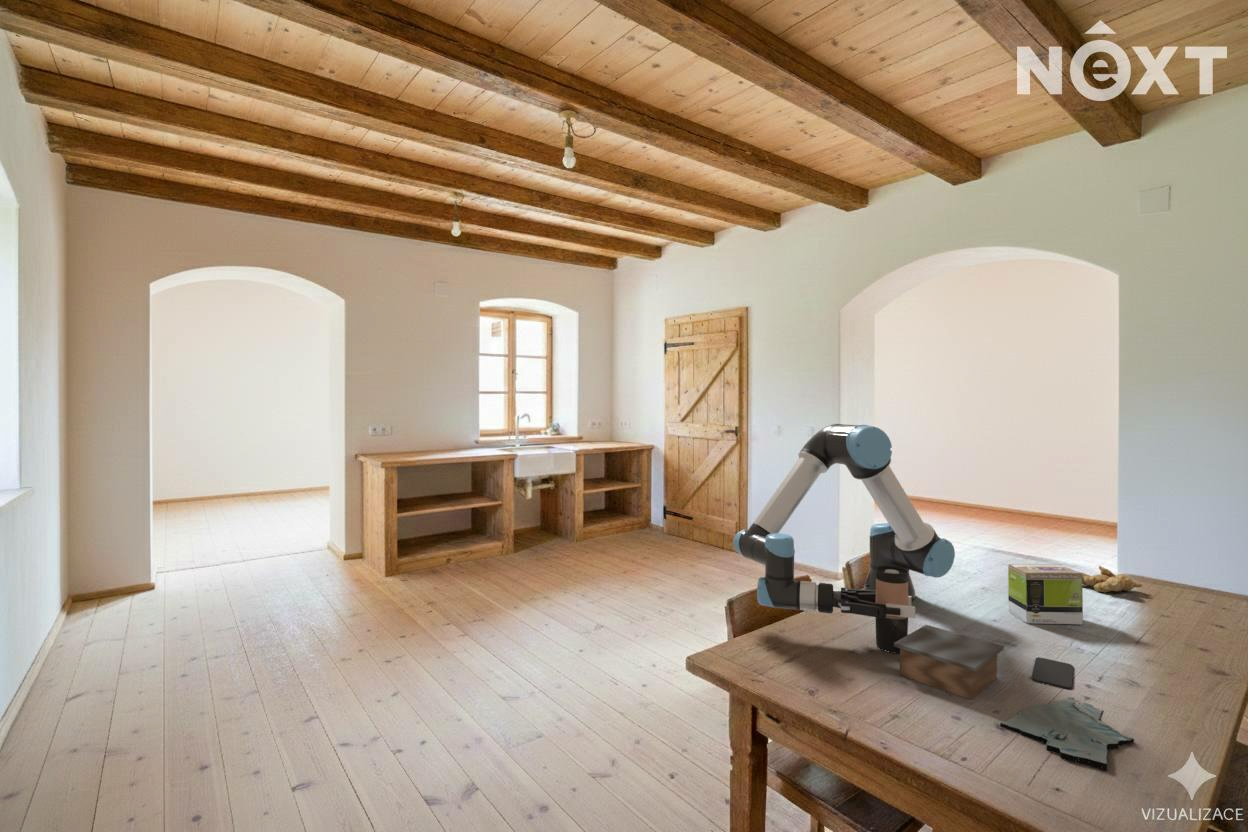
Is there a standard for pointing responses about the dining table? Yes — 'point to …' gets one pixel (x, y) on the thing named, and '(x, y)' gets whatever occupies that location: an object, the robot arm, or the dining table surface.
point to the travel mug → (891, 592)
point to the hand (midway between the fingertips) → (912, 606)
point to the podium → (948, 660)
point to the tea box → (1045, 594)
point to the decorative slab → (1069, 731)
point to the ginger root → (1109, 581)
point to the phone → (1053, 673)
